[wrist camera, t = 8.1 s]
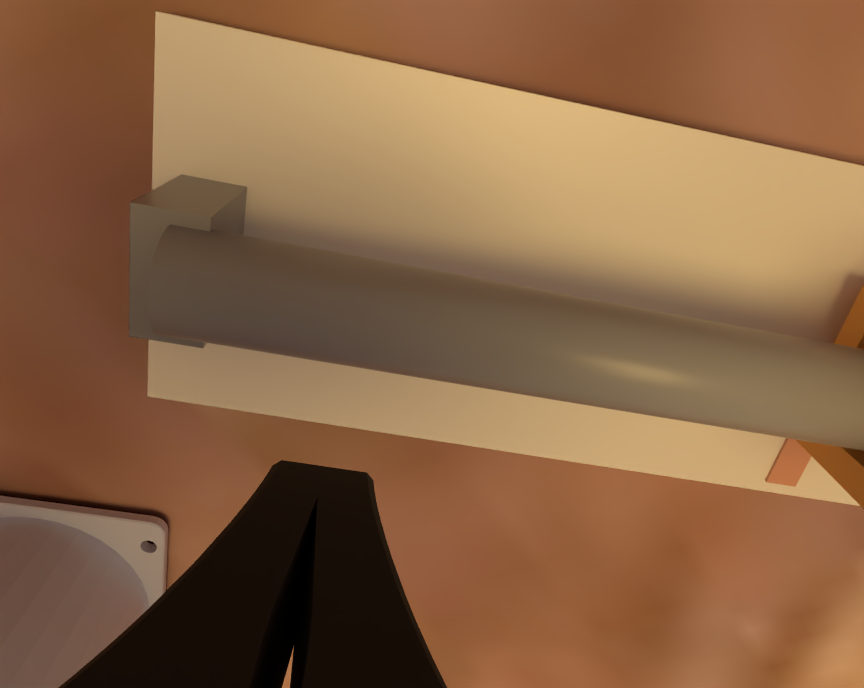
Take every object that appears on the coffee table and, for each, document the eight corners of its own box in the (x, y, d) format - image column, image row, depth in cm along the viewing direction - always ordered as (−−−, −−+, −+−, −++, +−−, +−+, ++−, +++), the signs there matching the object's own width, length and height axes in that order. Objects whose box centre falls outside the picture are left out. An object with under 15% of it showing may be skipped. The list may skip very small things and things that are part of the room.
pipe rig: (1144, 226, 18) (1422, 294, 13) (957, 505, 22) (1116, 636, 17) (170, 13, 15) (54, -5, 10) (159, 379, 19) (72, 495, 14)
